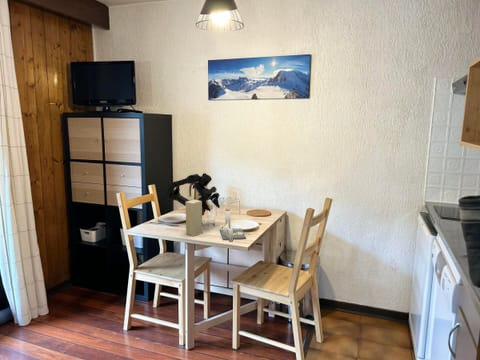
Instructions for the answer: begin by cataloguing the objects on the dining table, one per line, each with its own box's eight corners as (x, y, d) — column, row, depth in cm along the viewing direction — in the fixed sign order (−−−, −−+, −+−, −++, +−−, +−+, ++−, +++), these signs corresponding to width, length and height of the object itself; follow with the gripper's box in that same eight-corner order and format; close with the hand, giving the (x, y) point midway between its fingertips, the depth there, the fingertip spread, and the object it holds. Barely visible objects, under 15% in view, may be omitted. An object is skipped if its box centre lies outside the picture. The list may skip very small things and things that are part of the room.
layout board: (219, 231, 224) (219, 229, 224) (241, 229, 226) (241, 228, 226) (223, 240, 208) (223, 238, 208) (246, 238, 210) (246, 236, 210)
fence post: (229, 233, 215) (229, 211, 212) (224, 233, 215) (223, 210, 212) (230, 229, 223) (230, 207, 220) (225, 229, 223) (225, 207, 221)
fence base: (222, 236, 214) (222, 225, 213) (227, 235, 216) (227, 224, 214) (228, 242, 205) (228, 229, 204) (234, 241, 207) (234, 229, 205)
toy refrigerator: (194, 230, 225) (193, 199, 221) (202, 233, 220) (202, 200, 217) (185, 234, 219) (184, 201, 215) (193, 236, 214) (192, 203, 210)
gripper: (198, 185, 217) (212, 205, 213) (217, 180, 232) (230, 199, 228) (189, 195, 223) (202, 215, 220) (208, 190, 238) (221, 208, 235)
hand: (214, 209), depth 225 cm, fingers open, 9 cm apart
